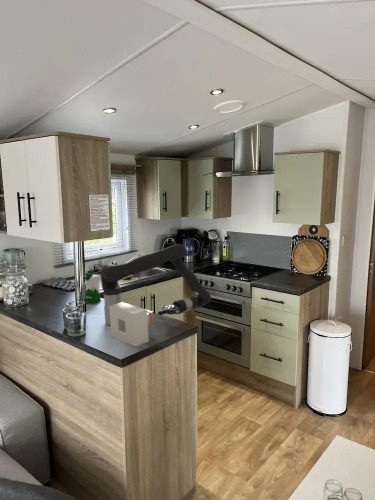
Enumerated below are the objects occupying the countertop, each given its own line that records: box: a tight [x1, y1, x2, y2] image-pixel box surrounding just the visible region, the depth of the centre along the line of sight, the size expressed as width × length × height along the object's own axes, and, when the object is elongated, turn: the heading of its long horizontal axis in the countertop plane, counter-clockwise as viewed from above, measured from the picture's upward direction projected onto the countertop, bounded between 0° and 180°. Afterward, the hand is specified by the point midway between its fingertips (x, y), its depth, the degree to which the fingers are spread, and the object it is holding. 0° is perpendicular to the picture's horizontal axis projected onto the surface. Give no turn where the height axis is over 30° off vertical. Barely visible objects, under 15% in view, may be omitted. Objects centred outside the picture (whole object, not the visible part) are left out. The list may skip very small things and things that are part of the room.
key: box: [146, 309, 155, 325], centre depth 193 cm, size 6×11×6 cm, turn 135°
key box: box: [109, 301, 150, 347], centre depth 188 cm, size 20×8×16 cm, turn 45°
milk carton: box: [84, 272, 101, 305], centre depth 253 cm, size 9×9×20 cm
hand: (159, 313), depth 202 cm, fingers closed
